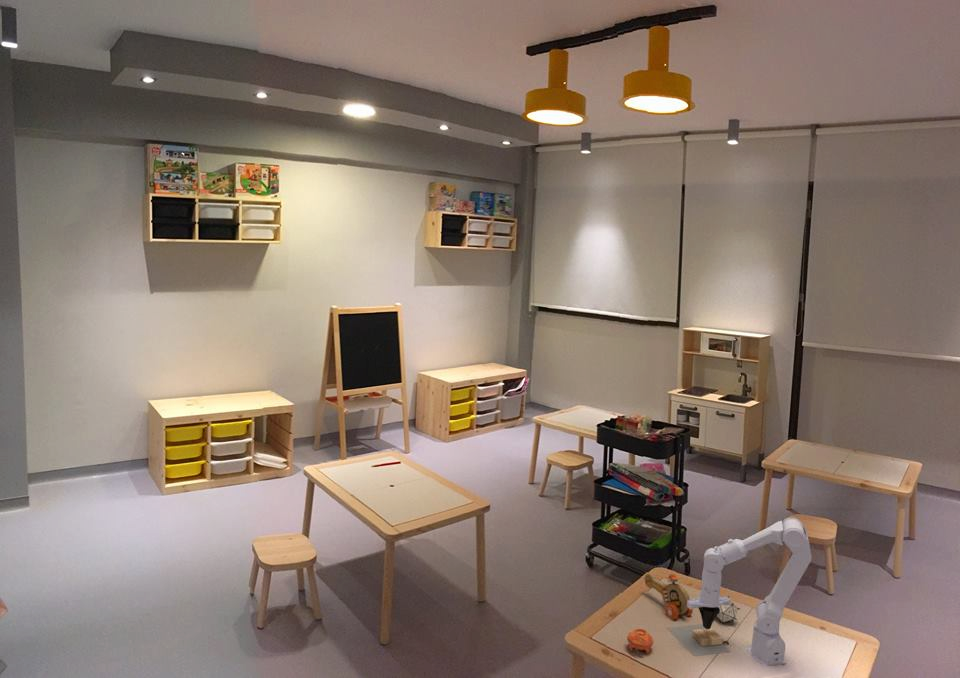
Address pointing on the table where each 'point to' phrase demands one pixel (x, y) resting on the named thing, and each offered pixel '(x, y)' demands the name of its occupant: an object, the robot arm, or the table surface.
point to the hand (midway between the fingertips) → (706, 627)
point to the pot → (640, 640)
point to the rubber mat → (695, 641)
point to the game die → (727, 612)
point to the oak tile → (707, 637)
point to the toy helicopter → (671, 595)
